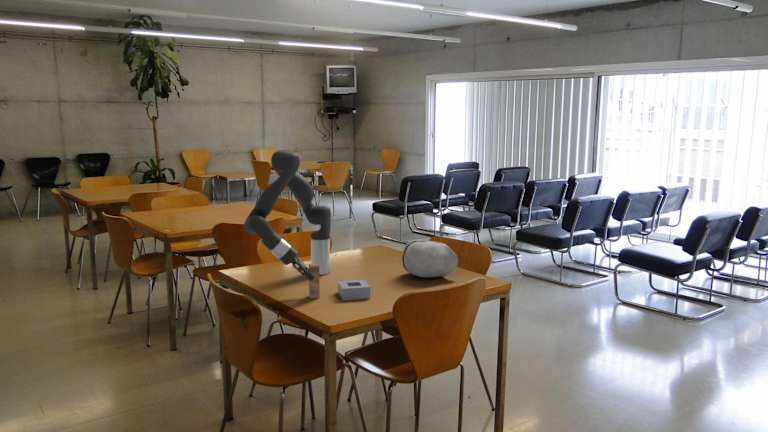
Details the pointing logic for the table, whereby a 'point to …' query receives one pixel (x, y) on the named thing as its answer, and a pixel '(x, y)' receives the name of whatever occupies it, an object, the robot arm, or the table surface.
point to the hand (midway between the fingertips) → (311, 276)
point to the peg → (314, 281)
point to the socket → (353, 289)
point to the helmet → (429, 259)
